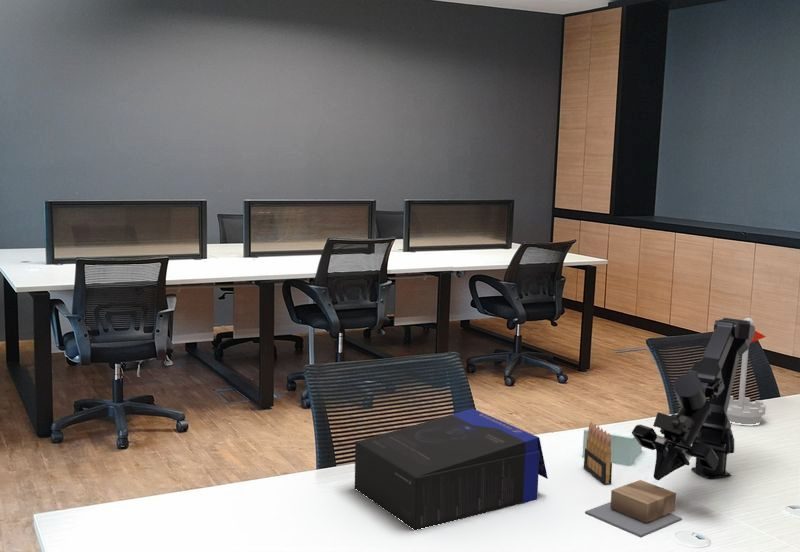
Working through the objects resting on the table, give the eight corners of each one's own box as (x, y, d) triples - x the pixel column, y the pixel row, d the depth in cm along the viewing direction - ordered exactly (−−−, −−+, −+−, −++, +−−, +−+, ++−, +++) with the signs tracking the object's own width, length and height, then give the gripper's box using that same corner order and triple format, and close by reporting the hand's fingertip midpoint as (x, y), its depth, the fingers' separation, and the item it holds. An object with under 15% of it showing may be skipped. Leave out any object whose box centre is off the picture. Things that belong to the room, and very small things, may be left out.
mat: (626, 497, 190) (626, 496, 190) (681, 519, 179) (681, 517, 179) (585, 513, 181) (585, 511, 181) (640, 537, 170) (640, 535, 170)
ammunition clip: (611, 484, 197) (614, 434, 196) (604, 485, 197) (607, 434, 195) (590, 467, 208) (593, 419, 206) (583, 468, 207) (586, 420, 205)
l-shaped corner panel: (641, 453, 220) (643, 425, 219) (630, 468, 209) (632, 438, 208) (594, 445, 225) (596, 417, 224) (582, 459, 215) (583, 430, 214)
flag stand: (720, 425, 243) (728, 321, 239) (711, 411, 256) (719, 312, 251) (769, 428, 241) (778, 323, 237) (758, 415, 254) (766, 315, 249)
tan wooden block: (640, 479, 188) (611, 490, 182) (676, 493, 181) (647, 504, 175) (639, 498, 188) (610, 509, 182) (674, 512, 181) (646, 524, 175)
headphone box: (547, 498, 189) (551, 435, 187) (414, 532, 171) (416, 462, 169) (479, 462, 210) (481, 405, 208) (354, 489, 191) (355, 427, 189)
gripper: (639, 388, 192) (605, 446, 186) (715, 409, 177) (680, 472, 172) (658, 417, 198) (625, 473, 192) (733, 439, 183) (699, 500, 178)
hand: (655, 478), depth 183 cm, fingers closed
